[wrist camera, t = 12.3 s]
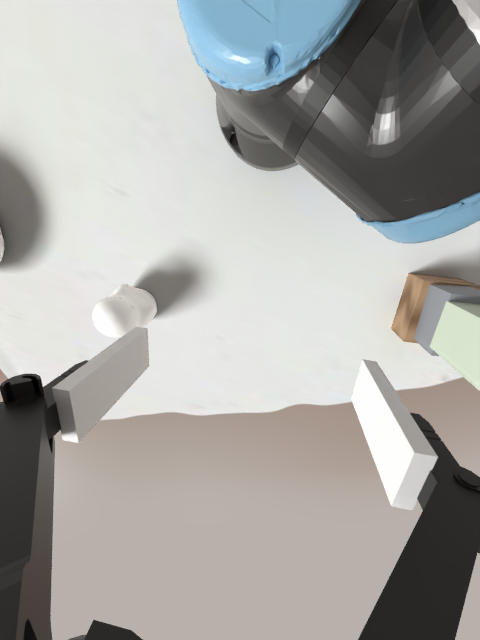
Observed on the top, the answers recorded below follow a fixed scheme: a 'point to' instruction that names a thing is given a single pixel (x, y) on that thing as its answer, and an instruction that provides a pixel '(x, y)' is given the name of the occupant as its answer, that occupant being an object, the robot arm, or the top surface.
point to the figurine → (124, 311)
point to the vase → (1, 246)
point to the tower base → (417, 302)
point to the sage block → (460, 339)
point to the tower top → (440, 309)
